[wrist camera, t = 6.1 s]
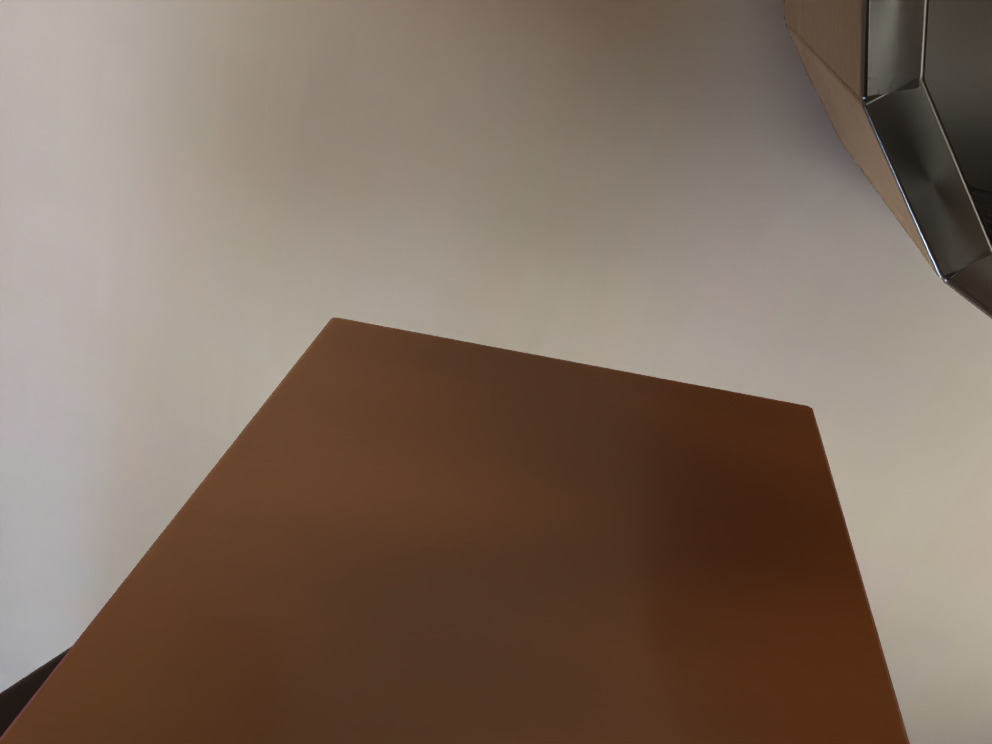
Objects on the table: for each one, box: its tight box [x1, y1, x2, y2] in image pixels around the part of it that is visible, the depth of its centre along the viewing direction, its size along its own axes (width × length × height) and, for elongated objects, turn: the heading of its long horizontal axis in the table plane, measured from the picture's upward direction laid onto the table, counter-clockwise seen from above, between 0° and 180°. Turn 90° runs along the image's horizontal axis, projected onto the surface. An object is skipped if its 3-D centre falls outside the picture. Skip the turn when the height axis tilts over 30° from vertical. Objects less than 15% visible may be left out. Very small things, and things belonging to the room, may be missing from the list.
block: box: [0, 318, 910, 744], centre depth 7 cm, size 5×5×5 cm
